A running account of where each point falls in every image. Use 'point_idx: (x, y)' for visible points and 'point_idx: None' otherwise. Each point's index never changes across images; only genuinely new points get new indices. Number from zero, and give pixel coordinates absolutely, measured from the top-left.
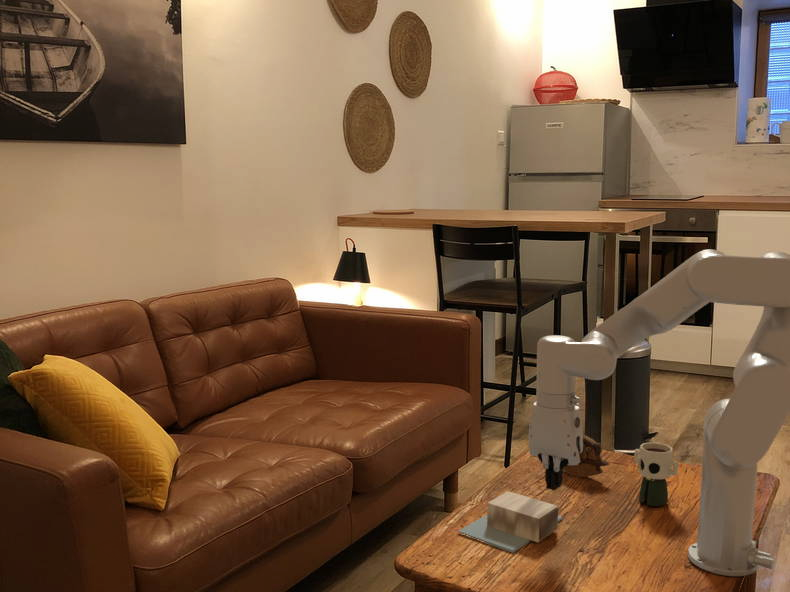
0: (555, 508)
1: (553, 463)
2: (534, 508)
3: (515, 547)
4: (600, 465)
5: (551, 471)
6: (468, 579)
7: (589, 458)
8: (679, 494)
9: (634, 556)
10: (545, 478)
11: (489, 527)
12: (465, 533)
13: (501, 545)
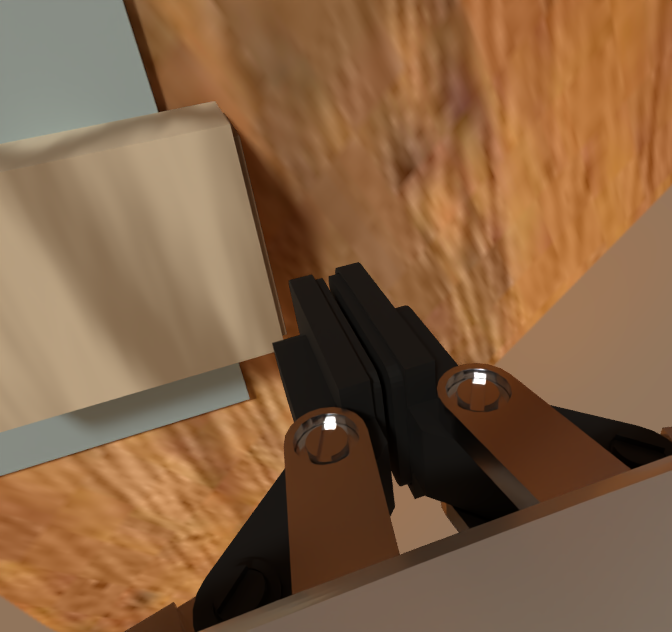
0: (238, 163)
1: (379, 464)
2: (166, 282)
3: (238, 381)
4: None
5: (414, 497)
6: None
7: None
8: None
9: (592, 23)
10: (292, 416)
11: None
12: (17, 470)
13: (193, 412)
